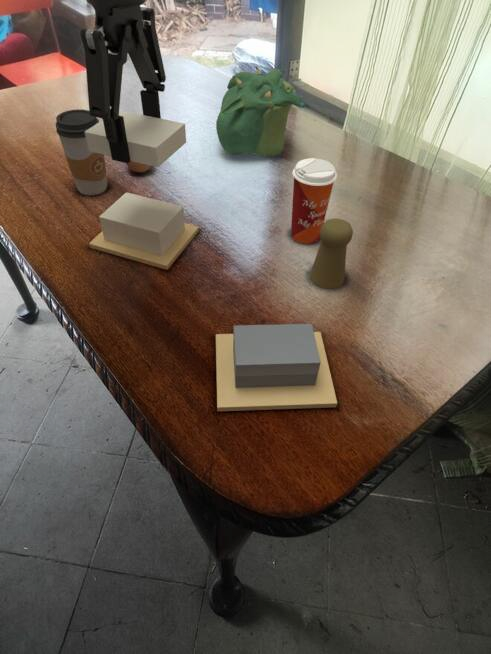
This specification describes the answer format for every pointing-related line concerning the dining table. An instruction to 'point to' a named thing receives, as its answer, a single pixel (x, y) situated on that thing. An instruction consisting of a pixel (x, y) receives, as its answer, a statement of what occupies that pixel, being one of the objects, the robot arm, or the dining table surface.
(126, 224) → the cream box
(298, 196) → the paper cup
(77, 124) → the coffee cup
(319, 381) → the grey stack
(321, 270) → the pepper shaker
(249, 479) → the dining table surface
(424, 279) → the dining table surface
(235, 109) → the decorative sculpture
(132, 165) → the egg
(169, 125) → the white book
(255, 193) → the dining table surface
